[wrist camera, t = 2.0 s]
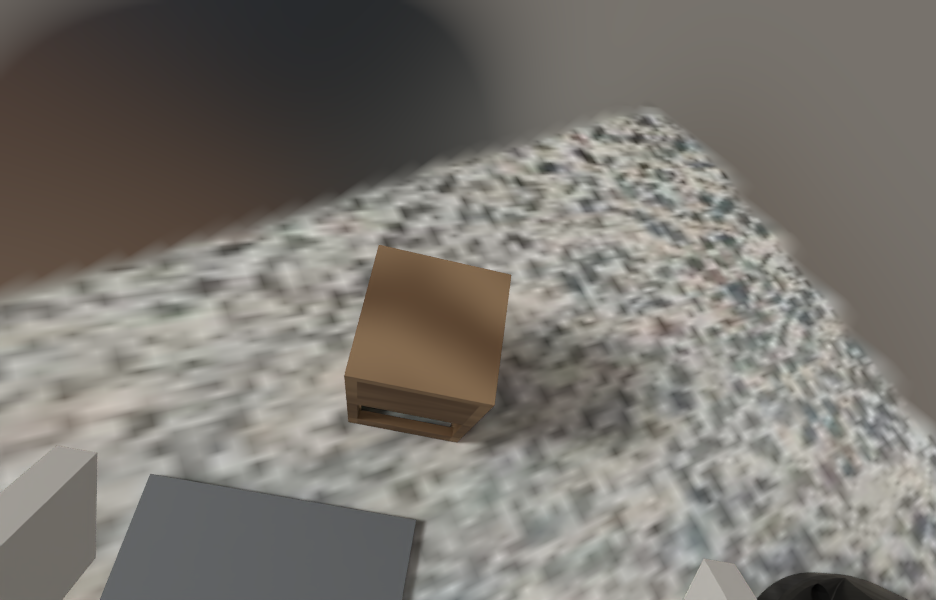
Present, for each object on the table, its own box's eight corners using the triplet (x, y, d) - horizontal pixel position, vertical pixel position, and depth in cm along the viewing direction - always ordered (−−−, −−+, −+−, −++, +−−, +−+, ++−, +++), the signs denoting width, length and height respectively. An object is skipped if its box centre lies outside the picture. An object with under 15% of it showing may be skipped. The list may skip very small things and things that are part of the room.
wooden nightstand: (456, 442, 36) (494, 405, 26) (348, 421, 35) (344, 375, 25) (472, 341, 39) (511, 274, 29) (373, 321, 38) (378, 244, 28)
